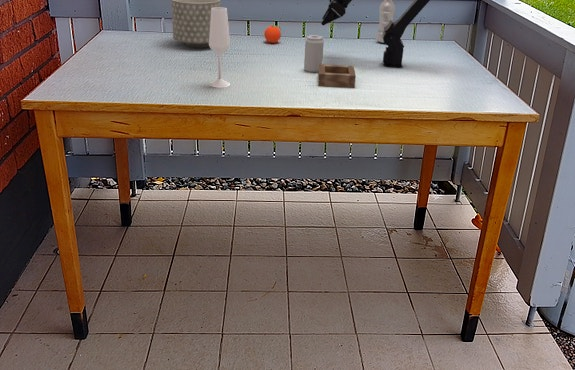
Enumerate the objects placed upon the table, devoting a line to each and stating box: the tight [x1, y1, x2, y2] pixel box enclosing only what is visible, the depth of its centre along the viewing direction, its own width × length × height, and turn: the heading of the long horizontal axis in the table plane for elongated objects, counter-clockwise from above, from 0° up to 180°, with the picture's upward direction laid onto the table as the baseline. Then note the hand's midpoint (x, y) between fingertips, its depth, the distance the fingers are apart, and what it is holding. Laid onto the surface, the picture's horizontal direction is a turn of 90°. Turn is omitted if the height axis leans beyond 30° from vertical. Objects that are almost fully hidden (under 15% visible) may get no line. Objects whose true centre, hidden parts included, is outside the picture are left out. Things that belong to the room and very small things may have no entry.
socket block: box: [317, 63, 357, 89], centre depth 193 cm, size 12×12×4 cm
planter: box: [170, 0, 222, 49], centre depth 227 cm, size 19×19×18 cm
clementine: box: [263, 25, 282, 44], centre depth 239 cm, size 8×7×7 cm
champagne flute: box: [208, 6, 231, 88], centre depth 181 cm, size 7×7×24 cm
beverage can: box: [303, 34, 325, 73], centre depth 202 cm, size 6×6×12 cm
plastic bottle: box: [375, 0, 396, 44], centre depth 243 cm, size 6×7×20 cm
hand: (322, 22), depth 211 cm, fingers open, 9 cm apart
